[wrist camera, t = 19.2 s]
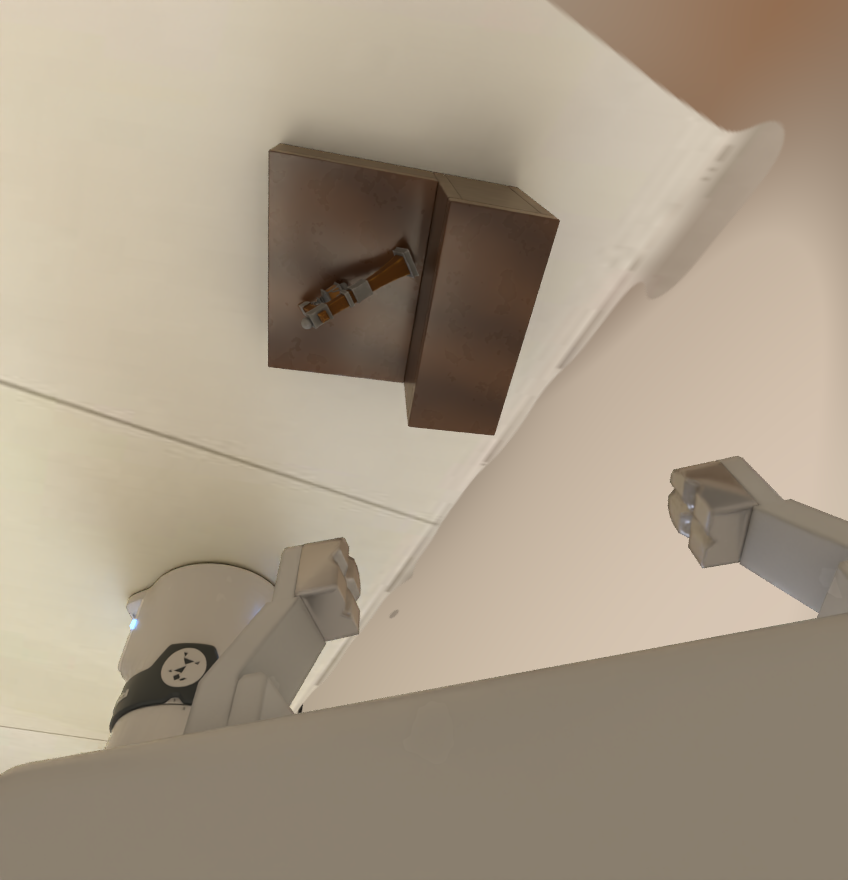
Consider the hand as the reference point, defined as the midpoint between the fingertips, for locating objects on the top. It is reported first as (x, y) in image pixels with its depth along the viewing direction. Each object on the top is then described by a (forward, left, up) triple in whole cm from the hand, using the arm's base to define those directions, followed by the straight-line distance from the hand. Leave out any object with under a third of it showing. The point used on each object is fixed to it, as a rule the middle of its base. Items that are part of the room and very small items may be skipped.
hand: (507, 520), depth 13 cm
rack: (-3, +2, -29) cm, 29 cm away
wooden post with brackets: (-3, +4, -25) cm, 26 cm away
